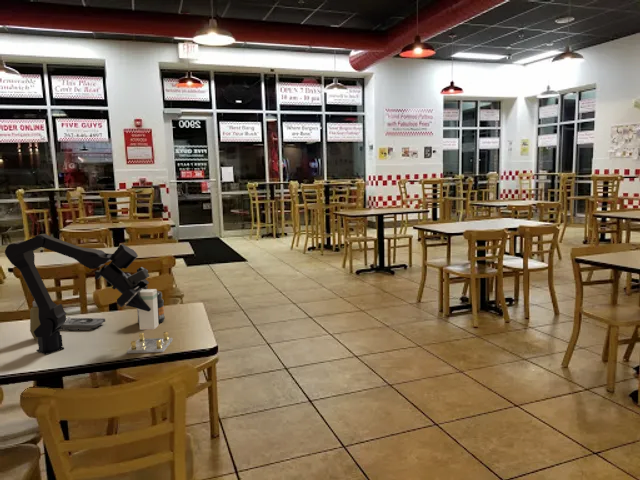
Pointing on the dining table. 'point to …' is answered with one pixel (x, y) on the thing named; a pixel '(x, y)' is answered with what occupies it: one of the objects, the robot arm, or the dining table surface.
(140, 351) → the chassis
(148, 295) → the block
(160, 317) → the supplement container
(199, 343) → the dining table surface
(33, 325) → the squeeze bottle
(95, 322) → the graphics card
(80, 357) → the dining table surface
